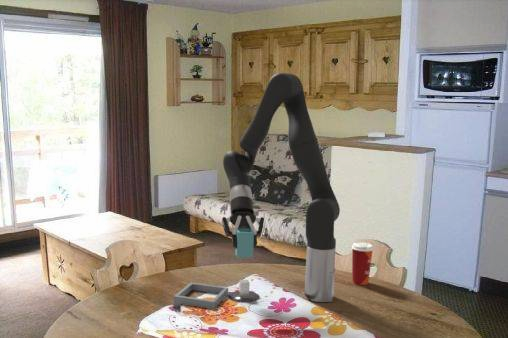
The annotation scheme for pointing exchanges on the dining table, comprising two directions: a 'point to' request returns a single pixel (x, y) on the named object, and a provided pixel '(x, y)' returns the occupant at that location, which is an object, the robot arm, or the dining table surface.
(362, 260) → the paper cup
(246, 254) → the teal sleeve
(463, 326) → the dining table surface
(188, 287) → the charcoal tray
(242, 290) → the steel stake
